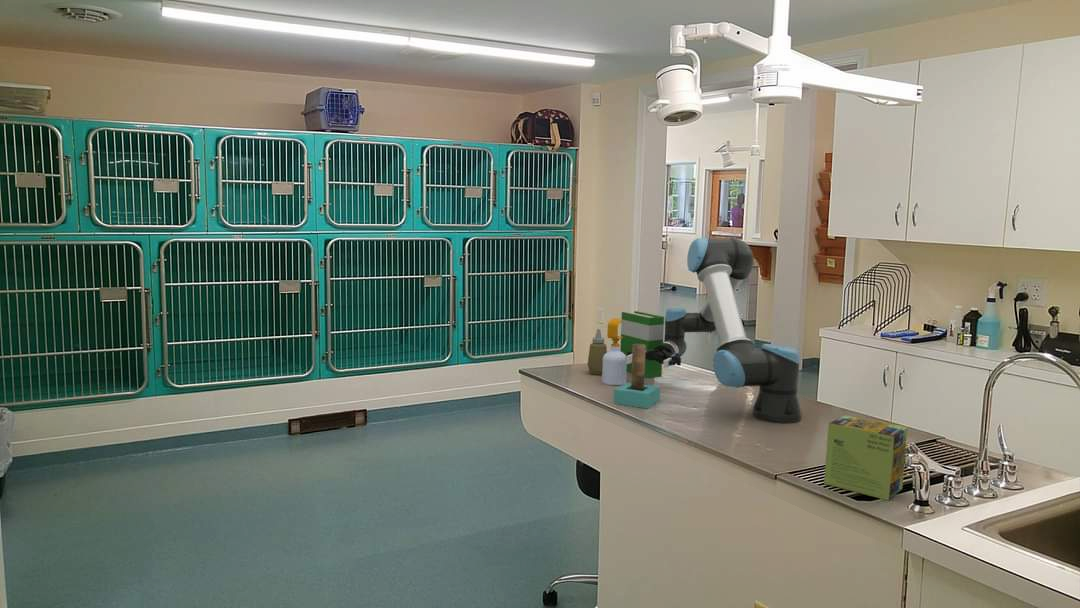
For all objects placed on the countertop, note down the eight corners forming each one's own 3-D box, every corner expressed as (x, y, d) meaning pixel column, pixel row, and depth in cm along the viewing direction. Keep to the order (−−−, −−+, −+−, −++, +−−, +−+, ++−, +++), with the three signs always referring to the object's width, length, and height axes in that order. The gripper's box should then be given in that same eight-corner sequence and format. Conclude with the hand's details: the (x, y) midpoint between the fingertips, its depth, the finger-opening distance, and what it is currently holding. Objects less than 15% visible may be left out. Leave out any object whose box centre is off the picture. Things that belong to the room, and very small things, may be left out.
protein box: (889, 501, 172) (895, 436, 170) (823, 484, 182) (827, 422, 180) (903, 489, 180) (908, 426, 178) (838, 473, 190) (843, 414, 188)
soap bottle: (629, 382, 284) (632, 318, 281) (619, 387, 277) (621, 321, 274) (609, 379, 289) (611, 316, 286) (597, 383, 282) (599, 319, 278)
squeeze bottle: (607, 372, 302) (608, 328, 300) (607, 376, 294) (608, 331, 292) (587, 371, 303) (588, 327, 300) (586, 375, 295) (588, 330, 292)
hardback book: (619, 369, 307) (621, 312, 304) (633, 368, 311) (636, 311, 308) (646, 378, 292) (649, 318, 289) (661, 376, 296) (664, 316, 292)
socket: (659, 401, 258) (660, 386, 257) (647, 408, 247) (647, 394, 247) (627, 396, 263) (627, 382, 263) (613, 403, 253) (614, 389, 252)
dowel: (645, 401, 256) (647, 344, 254) (640, 404, 252) (642, 346, 250) (633, 400, 258) (635, 343, 256) (628, 402, 255) (630, 345, 252)
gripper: (697, 366, 273) (679, 377, 255) (633, 358, 285) (612, 368, 266) (698, 346, 272) (680, 355, 254) (634, 339, 284) (613, 347, 265)
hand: (645, 362), depth 260 cm, fingers open, 13 cm apart
